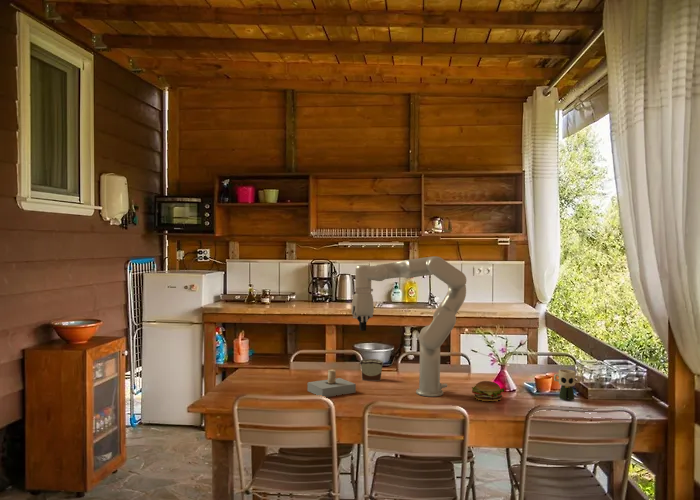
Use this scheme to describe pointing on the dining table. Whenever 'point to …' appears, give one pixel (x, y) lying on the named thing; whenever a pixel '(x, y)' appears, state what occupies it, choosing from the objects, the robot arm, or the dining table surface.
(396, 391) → the dining table surface
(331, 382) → the birch peg
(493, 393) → the food
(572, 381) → the character mug
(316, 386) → the socket board
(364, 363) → the food container
